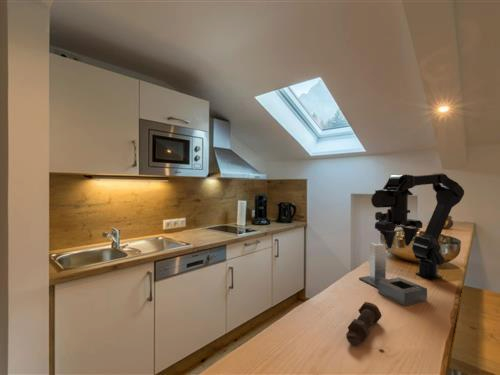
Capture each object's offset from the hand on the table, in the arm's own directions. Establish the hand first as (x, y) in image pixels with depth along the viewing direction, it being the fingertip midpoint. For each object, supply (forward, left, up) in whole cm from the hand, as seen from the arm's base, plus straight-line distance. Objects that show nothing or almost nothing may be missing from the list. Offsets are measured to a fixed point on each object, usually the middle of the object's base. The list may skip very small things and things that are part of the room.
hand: (398, 246), depth 98 cm
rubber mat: (+9, -1, -13) cm, 16 cm away
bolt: (+39, +21, -13) cm, 46 cm away
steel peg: (+9, -1, -12) cm, 16 cm away
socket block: (+11, +11, -13) cm, 20 cm away
